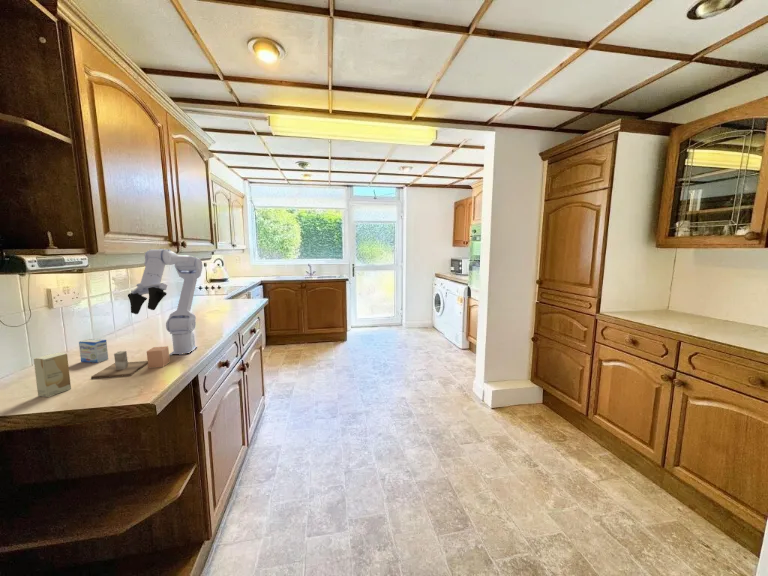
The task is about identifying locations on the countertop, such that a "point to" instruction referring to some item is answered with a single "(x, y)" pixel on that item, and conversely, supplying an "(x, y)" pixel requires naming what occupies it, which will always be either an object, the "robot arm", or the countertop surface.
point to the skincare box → (52, 374)
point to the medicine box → (93, 350)
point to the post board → (120, 372)
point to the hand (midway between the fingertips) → (142, 311)
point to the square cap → (158, 357)
